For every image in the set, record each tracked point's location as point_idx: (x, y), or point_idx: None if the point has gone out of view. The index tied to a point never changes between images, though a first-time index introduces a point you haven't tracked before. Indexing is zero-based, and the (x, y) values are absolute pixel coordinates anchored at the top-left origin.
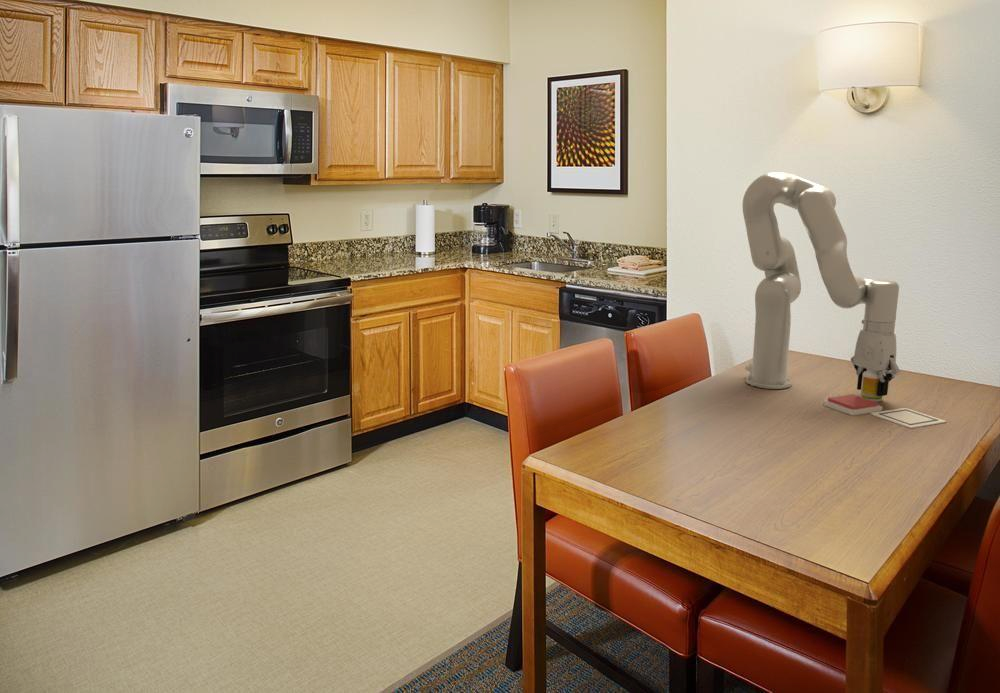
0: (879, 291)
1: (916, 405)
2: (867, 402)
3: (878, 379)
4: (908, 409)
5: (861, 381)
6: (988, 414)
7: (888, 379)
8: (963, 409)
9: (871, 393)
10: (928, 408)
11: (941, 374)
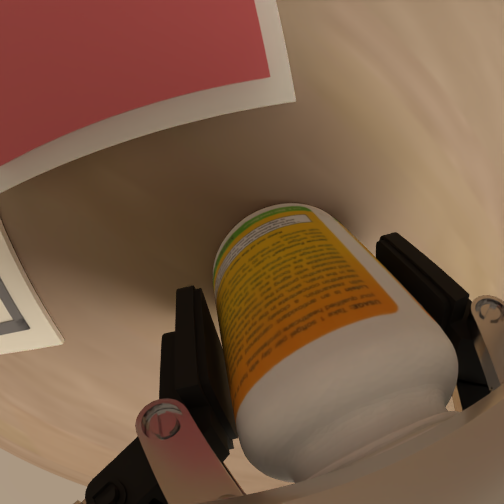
0: None
1: (134, 406)
2: (2, 88)
3: (234, 408)
4: (34, 340)
5: (413, 288)
6: (65, 476)
7: (128, 458)
8: (101, 469)
9: (234, 263)
10: (93, 416)
11: None
